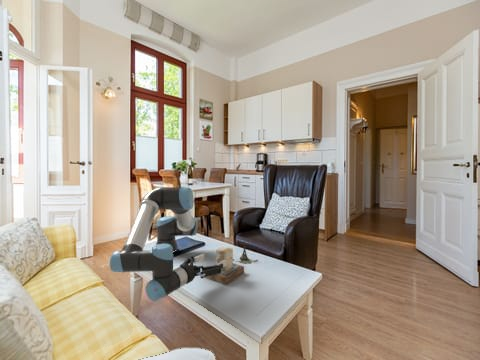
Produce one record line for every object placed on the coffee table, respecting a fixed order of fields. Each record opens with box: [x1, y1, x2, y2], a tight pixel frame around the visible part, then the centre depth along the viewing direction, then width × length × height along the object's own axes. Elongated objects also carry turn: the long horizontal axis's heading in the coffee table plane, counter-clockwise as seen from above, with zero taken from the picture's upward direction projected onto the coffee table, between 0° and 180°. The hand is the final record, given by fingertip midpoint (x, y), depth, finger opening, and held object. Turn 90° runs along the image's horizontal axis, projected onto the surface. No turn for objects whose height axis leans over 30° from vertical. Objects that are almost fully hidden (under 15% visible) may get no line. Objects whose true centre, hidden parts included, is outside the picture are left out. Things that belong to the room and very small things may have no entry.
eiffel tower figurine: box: [233, 240, 258, 265], centre depth 145 cm, size 15×10×13 cm
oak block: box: [216, 246, 234, 271], centre depth 124 cm, size 6×6×10 cm
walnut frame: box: [204, 262, 245, 286], centre depth 124 cm, size 14×16×4 cm
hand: (214, 259), depth 116 cm, fingers open, 13 cm apart
